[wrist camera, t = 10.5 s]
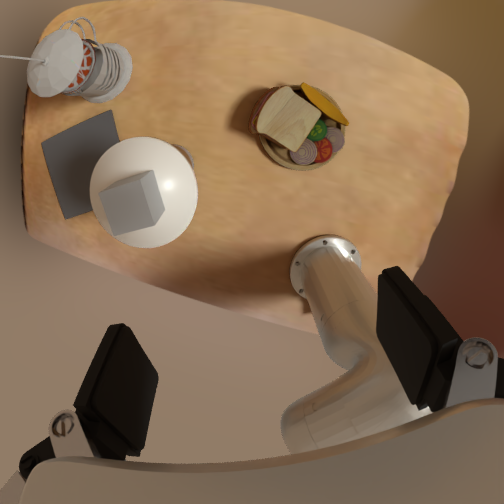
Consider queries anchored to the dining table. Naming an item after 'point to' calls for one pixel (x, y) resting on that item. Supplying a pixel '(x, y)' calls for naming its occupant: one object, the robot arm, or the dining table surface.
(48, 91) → the french press
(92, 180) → the lid
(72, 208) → the mat
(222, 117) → the dining table surface
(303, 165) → the toy sandwich meal
